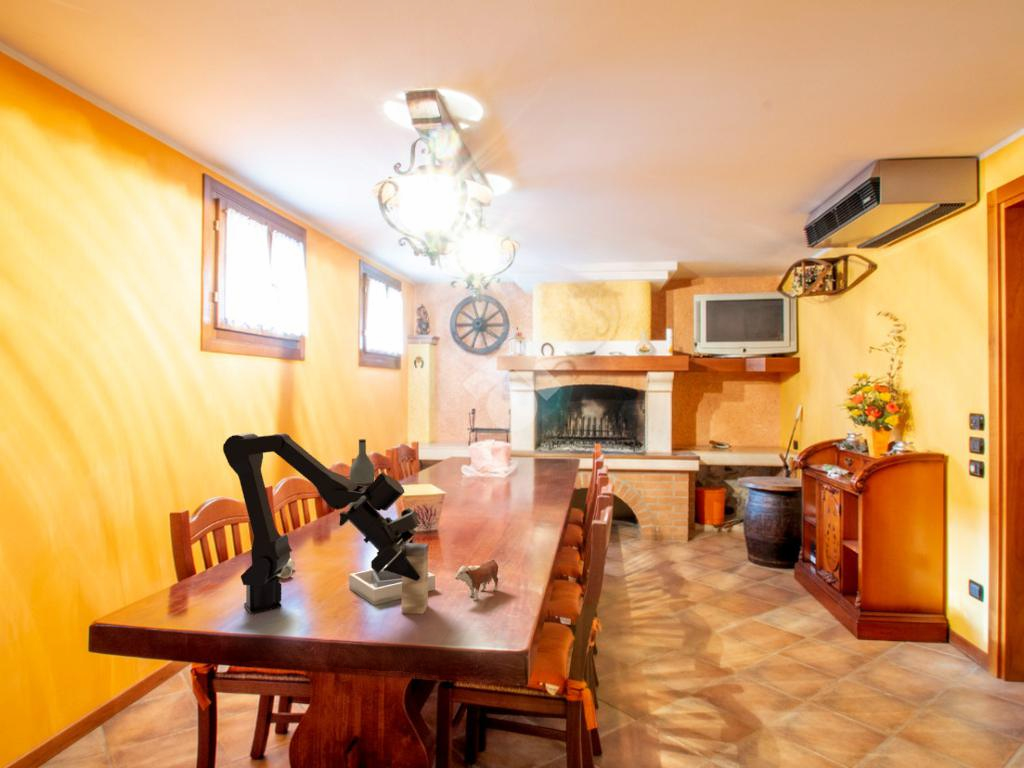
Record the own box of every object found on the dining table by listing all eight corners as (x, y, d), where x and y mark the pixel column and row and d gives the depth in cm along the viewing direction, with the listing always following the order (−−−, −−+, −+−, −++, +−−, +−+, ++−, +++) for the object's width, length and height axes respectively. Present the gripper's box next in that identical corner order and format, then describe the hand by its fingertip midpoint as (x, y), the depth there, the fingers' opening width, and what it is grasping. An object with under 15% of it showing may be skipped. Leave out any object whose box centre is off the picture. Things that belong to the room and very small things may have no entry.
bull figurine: (451, 601, 132) (451, 566, 132) (491, 586, 142) (490, 553, 142) (465, 606, 129) (465, 570, 129) (504, 590, 139) (504, 556, 139)
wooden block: (401, 613, 125) (401, 548, 125) (406, 604, 130) (406, 543, 130) (423, 613, 124) (424, 549, 125) (428, 605, 129) (428, 543, 130)
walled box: (374, 605, 129) (374, 589, 129) (349, 588, 140) (349, 574, 140) (435, 589, 139) (435, 575, 139) (407, 575, 150) (407, 561, 150)
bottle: (368, 515, 222) (368, 438, 222) (379, 519, 215) (379, 439, 215) (345, 518, 216) (345, 439, 216) (355, 522, 209) (355, 441, 209)
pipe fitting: (289, 569, 157) (265, 573, 152) (290, 555, 157) (266, 558, 152) (303, 576, 152) (279, 580, 147) (305, 561, 152) (280, 565, 147)
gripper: (386, 508, 118) (439, 562, 117) (407, 492, 137) (453, 538, 136) (348, 546, 118) (401, 600, 118) (374, 524, 137) (420, 571, 136)
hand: (421, 575), depth 127 cm, fingers closed on wooden block, 5 cm apart
